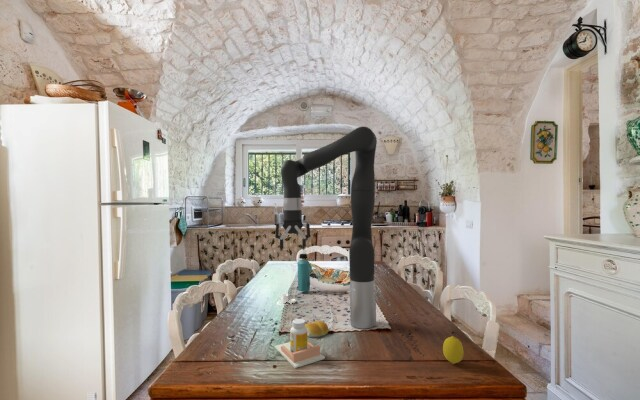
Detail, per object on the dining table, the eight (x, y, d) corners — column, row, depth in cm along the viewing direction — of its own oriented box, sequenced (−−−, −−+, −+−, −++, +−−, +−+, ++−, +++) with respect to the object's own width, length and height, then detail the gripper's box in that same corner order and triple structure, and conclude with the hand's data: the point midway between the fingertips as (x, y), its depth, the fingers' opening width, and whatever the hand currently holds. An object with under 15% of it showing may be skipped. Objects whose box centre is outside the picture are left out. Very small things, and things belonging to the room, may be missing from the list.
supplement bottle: (287, 353, 98) (286, 322, 98) (295, 346, 102) (295, 316, 103) (302, 357, 95) (302, 325, 95) (310, 349, 100) (310, 319, 100)
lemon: (439, 359, 94) (439, 332, 94) (457, 358, 95) (457, 331, 95) (448, 369, 89) (448, 341, 89) (467, 368, 89) (467, 340, 89)
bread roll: (332, 333, 114) (332, 322, 114) (311, 340, 109) (311, 328, 109) (319, 326, 121) (319, 315, 121) (299, 331, 115) (299, 321, 115)
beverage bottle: (308, 294, 160) (308, 255, 160) (296, 294, 161) (295, 254, 161) (311, 290, 166) (311, 253, 166) (299, 290, 168) (298, 252, 168)
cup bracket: (274, 347, 103) (274, 338, 103) (301, 340, 108) (301, 331, 108) (295, 368, 90) (295, 357, 90) (324, 358, 95) (324, 348, 95)
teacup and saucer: (298, 303, 149) (298, 294, 149) (287, 308, 142) (287, 298, 142) (283, 300, 153) (283, 291, 153) (272, 304, 147) (272, 295, 147)
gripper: (274, 209, 126) (275, 250, 126) (310, 209, 128) (310, 249, 128) (275, 209, 133) (275, 247, 133) (309, 208, 135) (309, 246, 135)
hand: (293, 248), depth 131 cm, fingers open, 8 cm apart
